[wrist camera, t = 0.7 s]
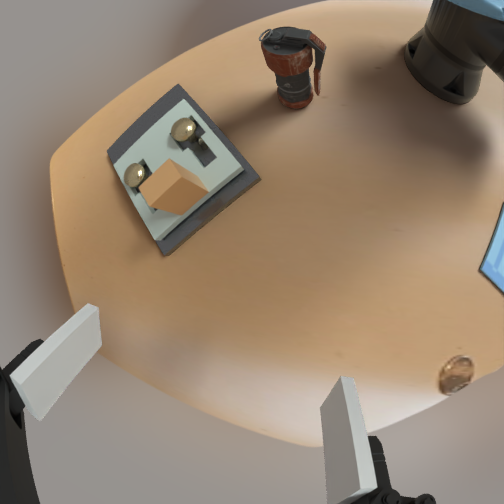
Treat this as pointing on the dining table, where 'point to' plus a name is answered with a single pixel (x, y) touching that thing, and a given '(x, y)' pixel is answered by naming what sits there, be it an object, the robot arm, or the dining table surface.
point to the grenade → (293, 63)
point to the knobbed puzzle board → (175, 172)
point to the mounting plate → (190, 138)
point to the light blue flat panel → (496, 256)
